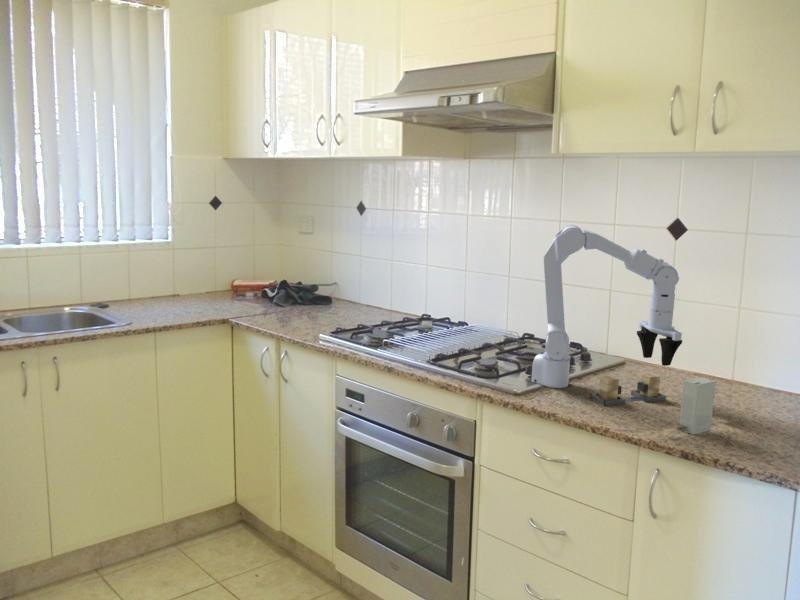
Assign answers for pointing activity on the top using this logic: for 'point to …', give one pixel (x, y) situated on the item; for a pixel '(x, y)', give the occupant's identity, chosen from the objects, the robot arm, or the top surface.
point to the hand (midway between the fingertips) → (656, 361)
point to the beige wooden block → (649, 385)
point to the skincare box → (697, 405)
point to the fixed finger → (609, 388)
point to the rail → (628, 398)
